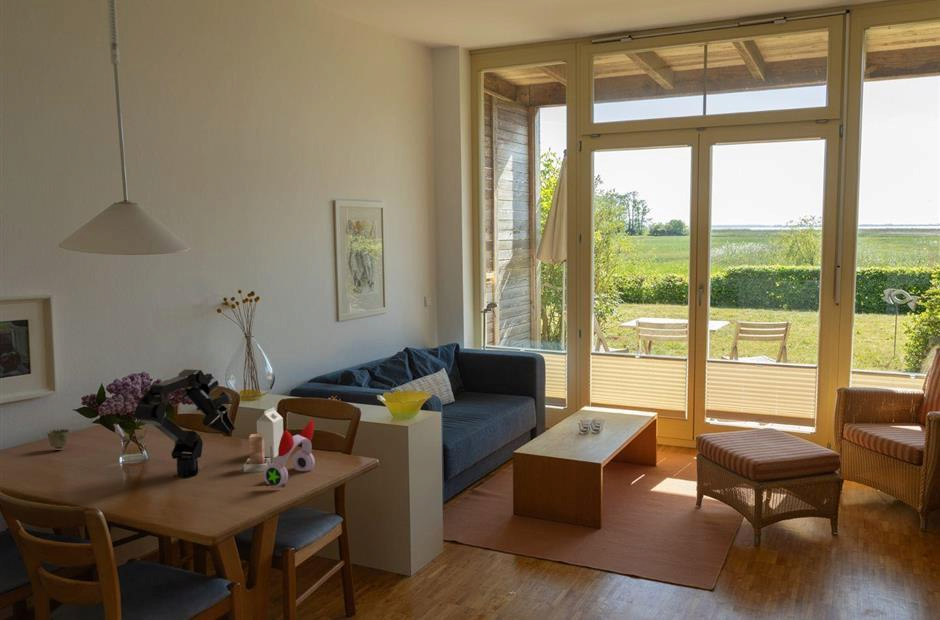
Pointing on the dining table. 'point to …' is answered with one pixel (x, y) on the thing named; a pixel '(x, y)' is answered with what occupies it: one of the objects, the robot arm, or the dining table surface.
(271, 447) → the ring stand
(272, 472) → the headphones
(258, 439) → the peg
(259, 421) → the milk carton
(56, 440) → the cup
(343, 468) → the dining table surface
